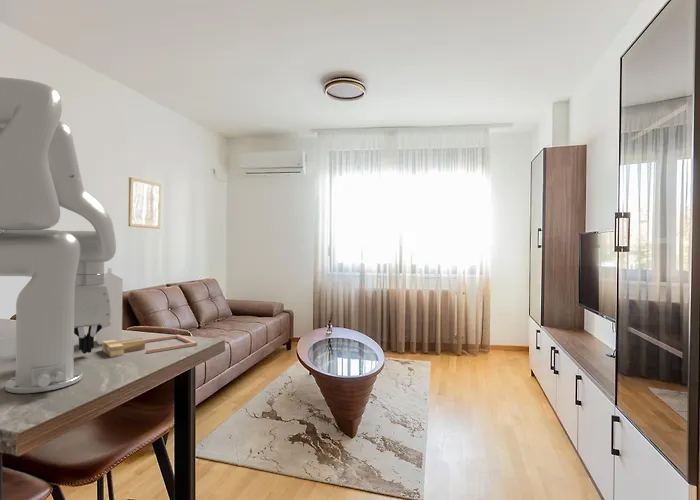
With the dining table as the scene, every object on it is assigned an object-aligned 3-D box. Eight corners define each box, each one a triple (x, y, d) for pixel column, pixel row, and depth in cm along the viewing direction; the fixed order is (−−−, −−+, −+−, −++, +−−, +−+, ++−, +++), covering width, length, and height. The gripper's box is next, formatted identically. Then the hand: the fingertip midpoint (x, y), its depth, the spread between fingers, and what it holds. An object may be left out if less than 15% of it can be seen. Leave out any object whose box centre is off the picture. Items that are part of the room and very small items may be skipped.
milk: (98, 344, 114) (98, 268, 114) (95, 340, 119) (95, 267, 119) (122, 341, 118) (122, 268, 118) (118, 337, 123) (119, 267, 122)
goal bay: (197, 345, 115) (197, 342, 115) (147, 353, 105) (147, 350, 105) (178, 337, 125) (178, 334, 125) (131, 343, 115) (131, 341, 115)
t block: (148, 351, 108) (148, 341, 108) (110, 357, 102) (110, 347, 102) (137, 345, 114) (138, 336, 114) (102, 350, 108) (102, 341, 108)
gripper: (53, 283, 94) (52, 360, 94) (123, 280, 104) (122, 349, 104) (48, 281, 99) (47, 354, 99) (115, 278, 110) (114, 344, 110)
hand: (86, 351), depth 102 cm, fingers closed
